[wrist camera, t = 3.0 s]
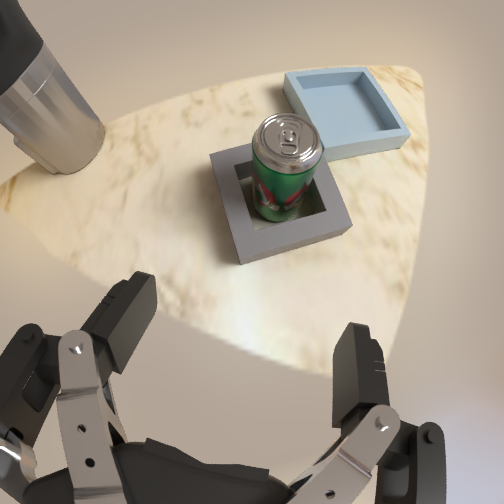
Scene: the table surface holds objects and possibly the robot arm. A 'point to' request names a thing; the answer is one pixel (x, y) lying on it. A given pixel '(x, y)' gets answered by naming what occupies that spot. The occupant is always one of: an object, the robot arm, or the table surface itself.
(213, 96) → the table surface
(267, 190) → the soda can
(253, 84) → the table surface
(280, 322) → the table surface
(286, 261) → the table surface
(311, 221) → the socket block
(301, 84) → the parts tray
